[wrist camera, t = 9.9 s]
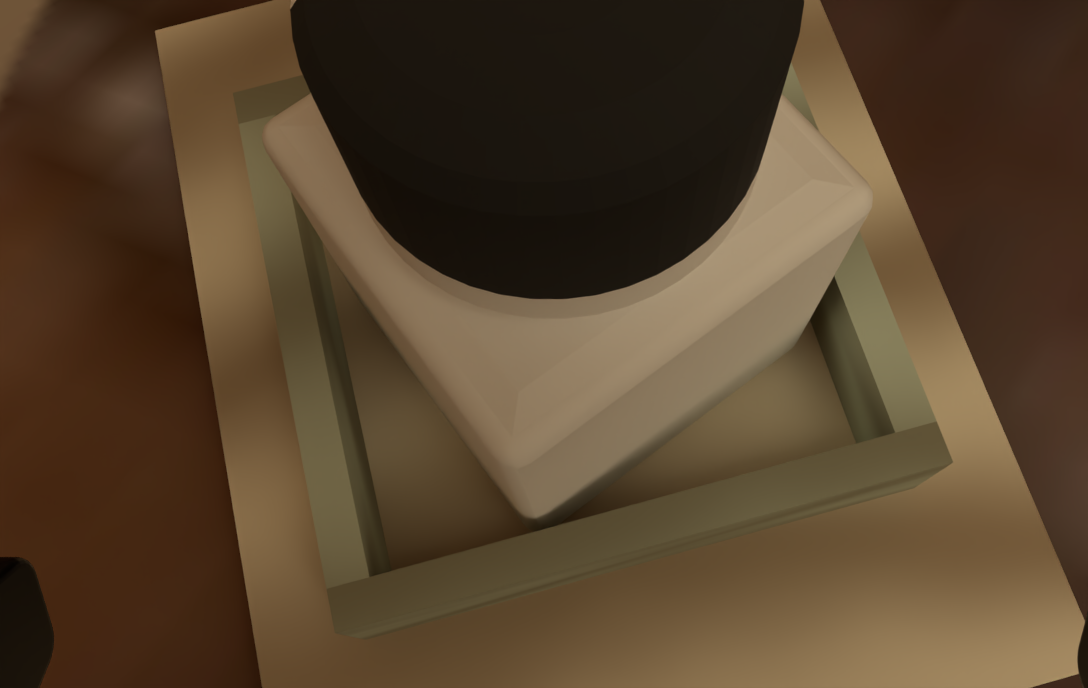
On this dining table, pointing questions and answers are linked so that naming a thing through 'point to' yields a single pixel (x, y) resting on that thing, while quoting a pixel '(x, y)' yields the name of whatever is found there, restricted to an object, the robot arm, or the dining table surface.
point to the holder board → (634, 499)
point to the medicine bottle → (568, 213)
